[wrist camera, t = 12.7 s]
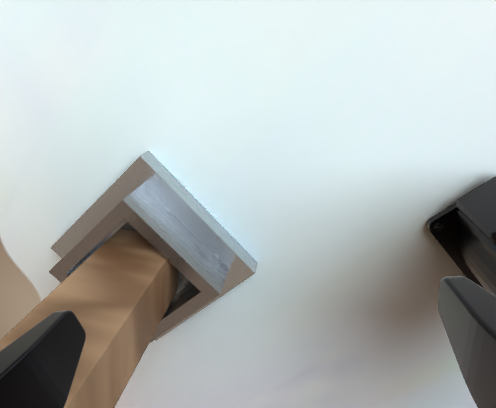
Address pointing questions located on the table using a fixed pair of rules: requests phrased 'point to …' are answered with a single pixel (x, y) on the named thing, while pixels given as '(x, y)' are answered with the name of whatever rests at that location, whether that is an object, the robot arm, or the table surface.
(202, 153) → the table surface
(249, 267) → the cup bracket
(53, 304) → the walnut post
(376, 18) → the table surface
